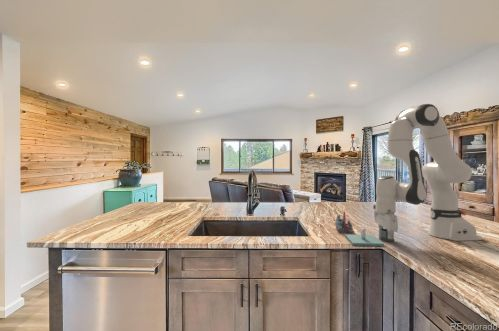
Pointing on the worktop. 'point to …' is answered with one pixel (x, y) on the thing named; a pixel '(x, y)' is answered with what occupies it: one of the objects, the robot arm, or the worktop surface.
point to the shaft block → (364, 239)
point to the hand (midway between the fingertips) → (385, 235)
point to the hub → (385, 235)
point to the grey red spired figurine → (343, 224)
